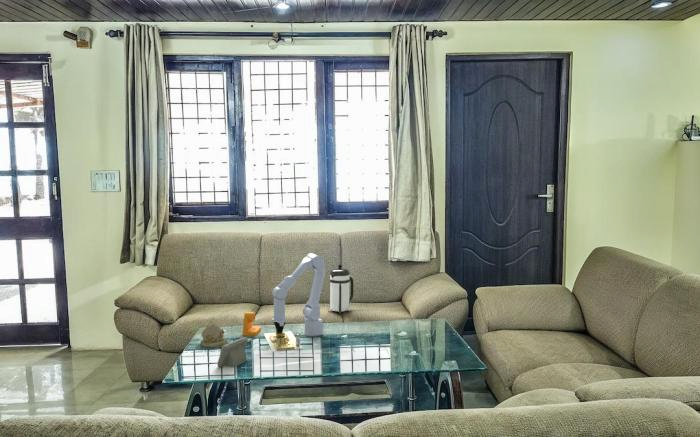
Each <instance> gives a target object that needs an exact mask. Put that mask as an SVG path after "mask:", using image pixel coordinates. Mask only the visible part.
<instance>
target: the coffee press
mask: <svg viewBox="0 0 700 437" xmlns="http://www.w3.org/2000/svg"><path fill="white" fill-rule="evenodd" d="M350 275H351V272H350V270H349V269H348V268H346V267H343V266H342V265H341V264H338V266H337V267H335V268H332V269H331V270H330V271H329V277H330V278H329V306H328V309H327V312H328V313H330V312H331V311H334V312H338V315H339V316H342V312H346V311H348V312H349V313H351V312H352V310H350V308H351V306H350V305H351V304H350V301H352V300H353V298H354V279H353V277H351V276H350Z"/></svg>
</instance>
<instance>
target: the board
mask: <svg viewBox="0 0 700 437" xmlns="http://www.w3.org/2000/svg"><path fill="white" fill-rule="evenodd" d="M283 332H284V333H285V334H287V336H288V337H289V341H288V342H292V344H293V345H294V347H295V349H294V350H299V349H303V347H302V345H301V344H300V346H298V347H297V346H296V335H294V333H293V332H292V330H289V331H283ZM276 333H277V332H269V333H268V332H267V333H266V332H265V333H263V335H264V337H265V339H266V342H267V343H268V345H269V348H270V349H271V351H272V352H277V351H276V349H275V347H274V344H275V343H276V342H272V341H271V339H270V335H276ZM289 350H291V351H292V349H288V350H287V351H289ZM279 351H282V350H279ZM279 351H278V352H279Z"/></svg>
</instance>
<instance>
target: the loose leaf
mask: <svg viewBox="0 0 700 437" xmlns="http://www.w3.org/2000/svg"><path fill="white" fill-rule="evenodd" d="M284 332H285V331H283V332H277V333H276V332H275V333H276V335H270V339H271V341H272V342H276V336H278V335H286V336H287V334H285V333H284ZM288 341H289V337H288Z"/></svg>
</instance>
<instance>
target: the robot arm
mask: <svg viewBox="0 0 700 437" xmlns="http://www.w3.org/2000/svg"><path fill="white" fill-rule="evenodd" d="M310 269H313V271H314V276H313V280H312V285H311V290H310V294H309V299H308V301H307V302H305V306H304V307H303V309H302V314H303V316H304V335H305V336H307V337H316V336H323V335H324V334H323V333H324V331H323V330H324V325H323V324H324V323H323V319H322V318H320V317H321V305H320V298H321V294H322V289H323V284H324V280H325V276H326V272H327V271H326V266H325V259H324V258H323V257H322V256H321V255H320V254H319V255H317V254H315V253H313V252H309V253H307V255H306V256H305V257H303V258H302V261H301V262H300V263H299V265H297V267H296V268H295V270H294V271H293V272H292V273H291V274H290V275H287V276H284V277H283V280H282V281H281V282H280V283H279V284H277V286H276V287H274V288H273V289H272V291H271V294H272V296H273V317H272V318H271V321H272V322H273V324H274V327H275V330H276V332H284V329H285V328H284V327H285V326H286V322H285V321H286V297H287V296H288V292H289V291H290V290H291V289H292V288H293V287H294V286H295V284H296V282H297V279H298V278H299V277H300V276H301V275H303V273H304V272H305V271H306V270H310ZM276 332H275V333H276Z"/></svg>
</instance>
